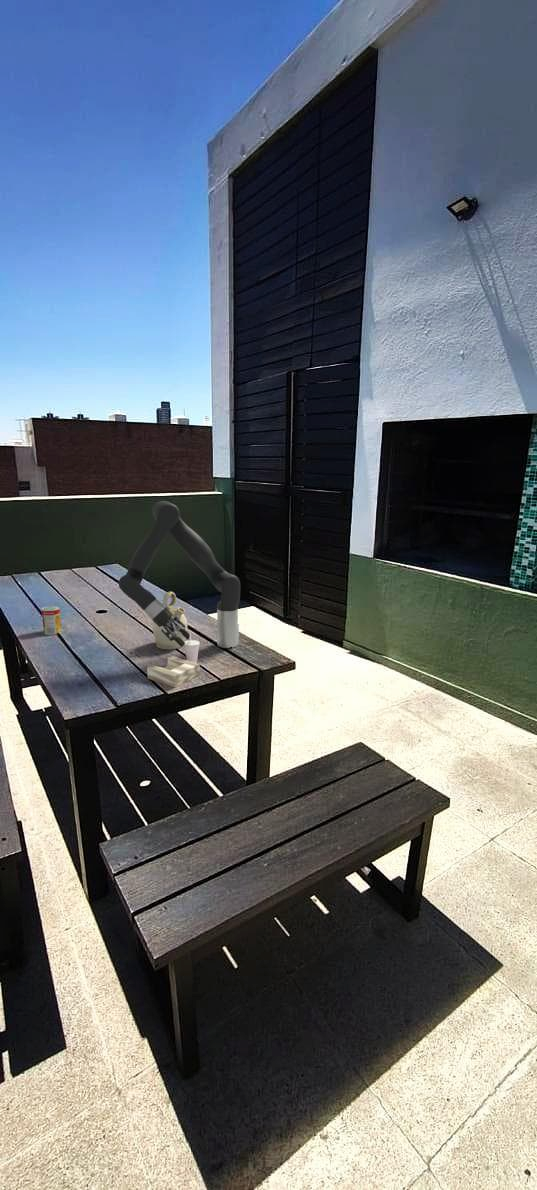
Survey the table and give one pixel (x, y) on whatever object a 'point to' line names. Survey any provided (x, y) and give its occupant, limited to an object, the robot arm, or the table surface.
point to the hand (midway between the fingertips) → (186, 641)
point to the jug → (159, 636)
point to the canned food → (51, 620)
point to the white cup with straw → (192, 649)
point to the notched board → (174, 672)
